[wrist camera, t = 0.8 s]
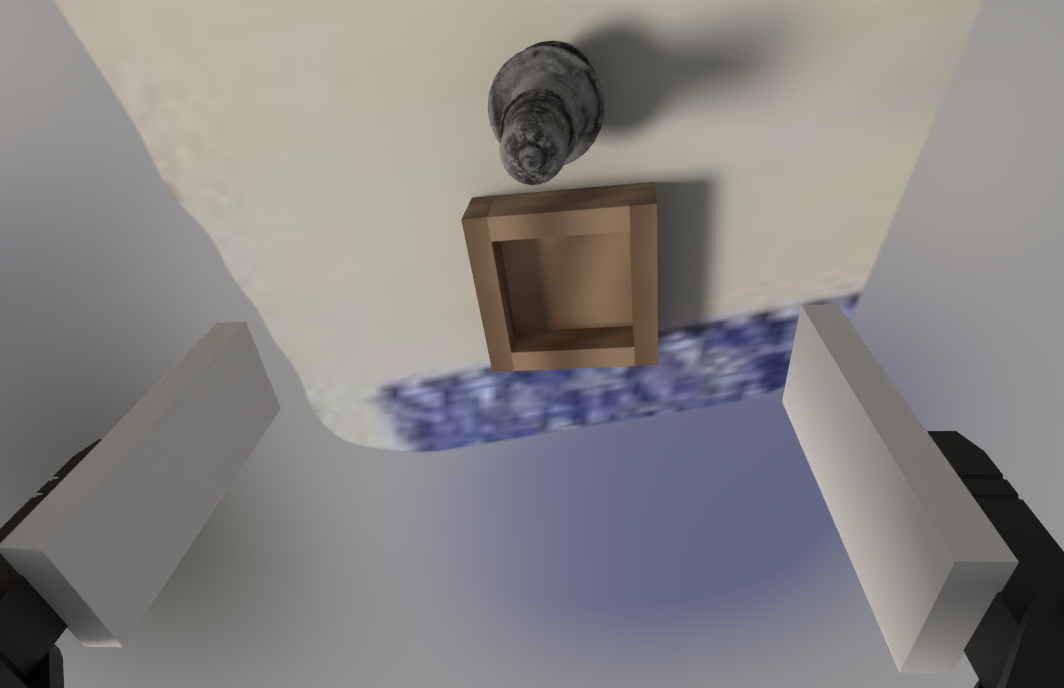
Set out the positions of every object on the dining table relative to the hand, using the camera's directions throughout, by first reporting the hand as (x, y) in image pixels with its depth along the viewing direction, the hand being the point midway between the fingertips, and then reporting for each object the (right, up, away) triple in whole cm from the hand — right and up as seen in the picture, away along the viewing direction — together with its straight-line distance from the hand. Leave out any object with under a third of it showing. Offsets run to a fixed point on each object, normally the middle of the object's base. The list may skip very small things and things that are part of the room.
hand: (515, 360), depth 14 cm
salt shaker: (+1, +14, +18) cm, 23 cm away
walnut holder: (+3, +5, +24) cm, 25 cm away
